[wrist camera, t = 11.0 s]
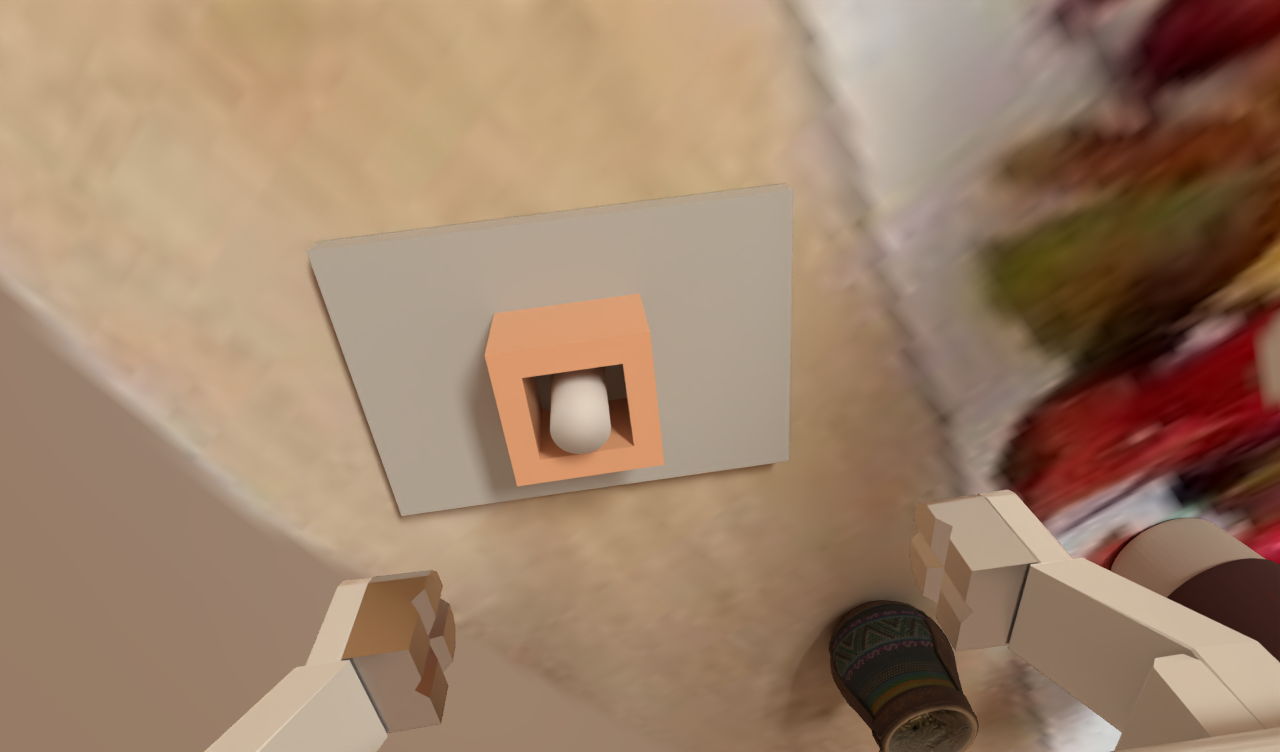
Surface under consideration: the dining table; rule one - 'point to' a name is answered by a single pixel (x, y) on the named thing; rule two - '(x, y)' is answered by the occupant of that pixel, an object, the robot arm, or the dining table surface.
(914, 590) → the dining table surface
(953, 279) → the dining table surface
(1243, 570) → the coffee cup
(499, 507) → the dining table surface
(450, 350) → the peg board
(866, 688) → the mate gourd
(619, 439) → the collar
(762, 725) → the dining table surface
